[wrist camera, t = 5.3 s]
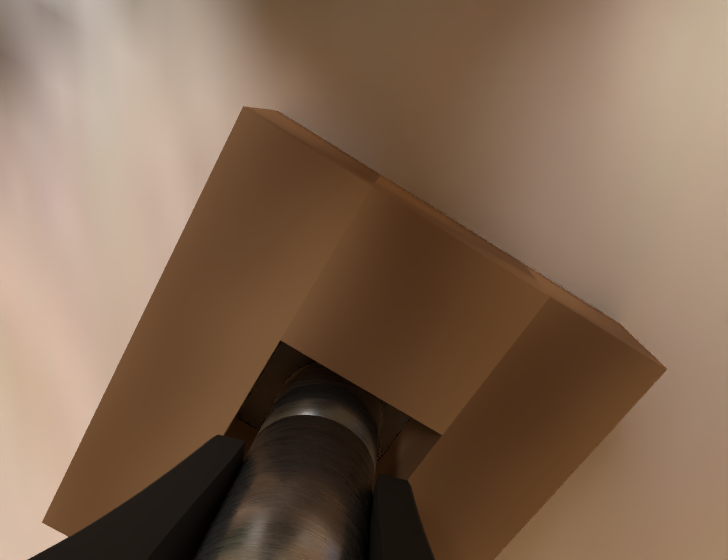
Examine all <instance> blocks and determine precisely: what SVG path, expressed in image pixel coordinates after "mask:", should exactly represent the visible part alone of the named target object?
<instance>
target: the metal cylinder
mask: <svg viewBox="0 0 728 560" xmlns="http://www.w3.org/2000/svg"><path fill="white" fill-rule="evenodd" d="M382 414H383V413H382V403H381V400H380V398H378V397H376V396H374V395H373V394H371V393H369V392H368V391H366V390H364V389H363V388H361V387H359V386H357V385H356V384H354V383H352V382H351V381H349V380H347V379H346V378H344V377H342V376H340V375H339V374H337V373H335V372H334V371H332V370H330V369H328V368H327V367H325V366H323V365H322V364H320V363H313V364H309V365H306V366H304V367H302V368H300V369H298V370H296V371H295V372H294V373H293V374H291V375H290V376H289V377H288V378H287V380H286V381H285V383H284V384H283V386H282V388H281V390H280V392H279V394H278V396H277V397H276V399H275V401H274V403H273V405H272V407H271V409H270V411H269V413H268V415H267V417H266V419H265V420H264V422H263V424H262V426H261V428H260V430H259V432H258V434H257V436H256V438H255V440H254V442H253V443H252V445H251V447H250V449H249V451H248V453H247V455H246V457H245V459H244V461H243V463H242V465H241V467H240V468H239V470H238V472H237V474H236V476H235V478H234V480H233V482H232V484H231V486H230V488H229V490H228V491H227V493H226V495H225V497H224V499H223V501H222V503H221V505H220V507H219V509H218V511H217V513H216V514H215V516H214V518H213V520H212V522H211V524H210V526H209V528H208V530H207V532H206V534H205V536H204V538H203V539H202V541H201V543H200V545H199V547H198V549H197V551H196V553H195V555H194V557H193V559H192V560H365V559H366V550H367V542H368V533H369V524H370V516H371V507H372V499H373V491H374V483H375V474H376V466H377V457H378V449H379V440H380V432H381V423H382Z"/></svg>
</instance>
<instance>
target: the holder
mask: <svg viewBox="0 0 728 560" xmlns="http://www.w3.org/2000/svg"><path fill="white" fill-rule="evenodd" d="M281 341H282V342H284V343H286V344H288V345H289V346H291V347H293V348H294V349H296V350H298V351H300V352H301V353H303V354H305V355H306V356H308V357H310V358H311V359H313V360H315V361H317V362H318V363H320V364H322V365H323V366H325V367H327V368H328V369H330V370H332V371H334V372H335V373H337V374H339V375H340V376H342V377H344V378H346V379H347V380H349V381H351V382H352V383H354V384H356V385H357V386H359V387H361V388H363V389H364V390H366V391H368V392H369V393H371V394H373V395H374V396H376V397H378V398H380V399H381V400H383V401H385V402H386V403H388V404H390V405H392V406H393V407H395V408H397V409H398V410H400V411H402V412H403V413H405V414H407V415H409V416H410V417H411V418H410V420H409V421H408V422H407V424H406V425H405V426H404V428H403V429H402V430H401V432H400V433H399V435H398V436H397V437H396V439H395V440H394V441H393V443H392V444H391V445H390V447H389V448H388V449H387V451H386V452H385V453H384V455H383V456H382V457H381V459H380V460H379V461H378V463H377V466H376V474H375V483H374V489H375V485H376V481H377V478H378V474H383V475H388V476H392V477H396V478H400V479H404V480H408V482H409V483H410V485H411V487H412V491H413V495H414V499H415V502H416V506H417V509H418V512H419V516H420V519H421V522H422V525H423V528H424V531H425V534H426V536H427V539H428V542H429V545H430V547H431V550H432V552H433V555H434V557H435V560H493V559H494V558H495V557H496V556H497V555H498V554H499V553H500V552H501V551H502V550H503V548H504V547H505V546H506V545H507V544H508V543H509V542H510V541H511V540H512V539H513V537H514V536H515V535H516V534H517V533H518V532H519V531H520V530H521V529H522V528H523V527H524V525H525V524H526V523H527V522H528V521H529V520H530V519H531V518H532V517H533V516H534V514H535V513H536V512H537V511H538V510H539V509H540V508H541V507H542V506H543V505H544V504H545V502H546V501H547V500H548V499H549V498H550V497H551V496H552V495H553V494H554V493H555V491H556V490H557V489H558V488H559V487H560V486H561V485H562V484H563V483H564V482H565V481H566V479H567V478H568V477H569V476H570V475H571V474H572V473H573V472H574V471H575V470H576V468H577V467H578V466H579V465H580V464H581V463H582V462H583V461H584V460H585V459H586V458H587V456H588V455H589V454H590V453H591V452H592V451H593V450H594V449H595V448H596V447H597V445H598V444H599V443H600V442H601V441H602V440H603V439H604V438H605V437H606V436H607V435H608V433H609V432H610V431H611V430H612V429H613V428H614V427H615V426H616V425H617V424H618V422H619V421H620V420H621V419H622V418H623V417H624V416H625V415H626V414H627V413H628V412H629V410H630V409H631V408H632V407H633V406H634V405H635V404H636V403H637V402H638V401H639V399H640V398H641V397H642V396H643V395H644V394H645V393H646V392H647V391H648V390H649V389H650V387H651V386H652V385H653V384H654V383H655V382H656V381H657V380H658V379H659V378H660V376H661V375H662V374H663V373H664V372H665V371H666V370H667V369H666V368H665V367H664V366H663V365H662V364H661V363H660V362H659V361H658V360H657V359H656V358H655V357H654V356H653V355H652V354H651V353H650V352H649V351H648V350H647V349H646V348H645V347H643V346H642V345H641V344H640V343H639V342H638V341H637V340H636V339H635V338H634V337H633V336H632V335H631V334H630V333H629V332H628V331H627V330H626V329H625V328H624V327H623V326H622V325H620V324H619V323H618V322H616V321H614V320H613V319H611V318H609V317H608V316H606V315H605V314H603V313H601V312H600V311H598V310H597V309H595V308H593V307H592V306H590V305H589V304H587V303H585V302H584V301H582V300H581V299H579V298H577V297H576V296H574V295H573V294H571V293H569V292H568V291H566V290H564V289H563V288H561V287H560V286H558V285H556V284H555V283H553V282H552V281H550V280H548V279H547V278H545V277H544V276H542V275H540V274H539V273H537V272H536V271H534V270H532V269H531V268H529V267H528V266H526V265H524V264H523V263H521V262H519V261H518V260H516V259H515V258H513V257H511V256H510V255H508V254H507V253H505V252H503V251H502V250H500V249H499V248H497V247H495V246H494V245H492V244H491V243H489V242H487V241H486V240H484V239H483V238H481V237H479V236H478V235H476V234H474V233H473V232H471V231H470V230H468V229H466V228H465V227H463V226H462V225H460V224H458V223H457V222H455V221H454V220H452V219H450V218H449V217H447V216H446V215H444V214H442V213H441V212H439V211H438V210H436V209H434V208H433V207H431V206H429V205H428V204H426V203H425V202H423V201H421V200H420V199H418V198H417V197H415V196H413V195H412V194H410V193H409V192H407V191H405V190H404V189H402V188H401V187H399V186H397V185H396V184H394V183H393V182H391V181H389V180H388V179H386V178H384V177H383V176H381V175H380V174H378V173H376V172H375V171H373V170H372V169H370V168H368V167H367V166H365V165H364V164H362V163H360V162H359V161H357V160H356V159H354V158H352V157H351V156H349V155H348V154H346V153H344V152H343V151H341V150H339V149H338V148H336V147H335V146H333V145H331V144H330V143H328V142H327V141H325V140H323V139H322V138H320V137H319V136H317V135H315V134H314V133H312V132H311V131H309V130H307V129H306V128H304V127H303V126H301V125H299V124H298V123H296V122H294V121H293V120H291V119H290V118H288V117H286V116H285V115H283V114H282V113H280V112H278V111H274V110H267V109H259V108H251V107H243V108H242V110H241V112H240V114H239V116H238V119H237V121H236V123H235V125H234V127H233V129H232V131H231V133H230V135H229V137H228V139H227V141H226V143H225V145H224V147H223V150H222V152H221V154H220V156H219V158H218V160H217V162H216V164H215V166H214V168H213V170H212V172H211V174H210V176H209V178H208V181H207V183H206V185H205V187H204V189H203V191H202V193H201V195H200V197H199V199H198V201H197V203H196V205H195V207H194V209H193V211H192V214H191V216H190V218H189V220H188V222H187V224H186V226H185V228H184V230H183V232H182V234H181V236H180V238H179V240H178V242H177V245H176V247H175V249H174V251H173V253H172V255H171V257H170V259H169V261H168V263H167V265H166V267H165V269H164V271H163V273H162V276H161V278H160V280H159V282H158V284H157V286H156V288H155V290H154V292H153V294H152V296H151V298H150V300H149V302H148V304H147V307H146V309H145V311H144V313H143V315H142V317H141V319H140V321H139V323H138V325H137V327H136V329H135V331H134V333H133V335H132V338H131V340H130V342H129V344H128V346H127V348H126V350H125V352H124V354H123V356H122V358H121V360H120V362H119V364H118V366H117V368H116V371H115V373H114V375H113V377H112V379H111V381H110V383H109V385H108V387H107V389H106V391H105V393H104V395H103V397H102V399H101V402H100V404H99V406H98V408H97V410H96V412H95V414H94V416H93V418H92V420H91V422H90V424H89V426H88V428H87V430H86V433H85V435H84V437H83V439H82V441H81V443H80V445H79V447H78V449H77V451H76V453H75V455H74V457H73V459H72V461H71V464H70V466H69V468H68V470H67V472H66V474H65V476H64V478H63V480H62V482H61V484H60V486H59V488H58V490H57V492H56V495H55V497H54V499H53V501H52V503H51V505H50V507H49V509H48V511H47V513H46V515H45V517H44V519H43V521H42V523H44V524H46V525H48V526H50V527H52V528H53V529H55V530H57V531H59V532H61V533H63V534H65V535H66V536H68V537H70V536H71V535H73V534H75V533H76V532H78V531H80V530H81V529H83V528H85V527H86V526H88V525H90V524H91V523H93V522H95V521H96V520H98V519H99V518H101V517H102V516H104V515H105V514H107V513H108V512H110V511H112V510H113V509H115V508H116V507H118V506H119V505H121V504H122V503H124V502H126V501H127V500H129V499H130V498H132V497H133V496H135V495H136V494H137V493H139V492H140V491H142V490H143V489H144V488H146V487H147V486H149V485H150V484H151V483H153V482H154V481H156V480H157V479H158V478H160V477H161V476H163V475H164V474H165V473H167V472H168V471H170V470H171V469H172V468H173V467H175V466H176V465H177V464H179V463H180V462H181V461H183V460H184V459H185V458H187V457H188V456H189V455H191V454H192V453H193V452H194V451H196V450H197V449H198V448H199V447H201V446H202V445H203V444H204V443H206V442H207V441H208V440H210V439H211V438H212V437H214V436H216V435H217V434H218V435H222V436H227V437H231V438H235V439H239V440H243V441H246V443H245V450H244V456H243V461H244V459H245V457H246V455H247V453H248V451H249V449H250V447H251V445H252V443H253V442H254V440H255V438H256V436H257V434H258V432H259V430H257V429H255V428H254V427H252V426H250V425H248V424H247V423H245V422H243V421H241V420H240V419H238V418H236V416H237V414H238V412H239V411H240V409H241V407H242V406H243V404H244V402H245V401H246V399H247V397H248V396H249V394H250V392H251V391H252V389H253V387H254V386H255V384H256V382H257V381H258V379H259V377H260V376H261V374H262V372H263V371H264V369H265V367H266V366H267V364H268V362H269V361H270V359H271V357H272V356H273V354H274V352H275V351H276V349H277V347H278V346H279V344H280V342H281ZM242 463H243V462H242ZM373 493H374V491H373Z"/></svg>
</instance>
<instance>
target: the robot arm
mask: <svg viewBox="0 0 728 560" xmlns="http://www.w3.org/2000/svg"><path fill="white" fill-rule="evenodd" d="M245 443H246V441H243V440H239V439H235V438H231V437H227V436H222V435H218V434H217V435H216V436H214V437H212V438H211V439H210V440H208V441H207V442H206V443H204V444H203V445H202V446H201V447H199V448H198V449H197V450H196V451H194V452H193V453H192V454H191V455H189V456H188V457H187V458H185V459H184V460H183V461H181V462H180V463H179V464H177V465H176V466H175V467H173V468H172V469H171V470H170V471H168V472H167V473H165V474H164V475H163V476H161V477H160V478H158V479H157V480H156V481H154V482H153V483H151V484H150V485H149V486H147V487H146V488H144V489H143V490H142V491H140V492H139V493H137V494H136V495H135V496H133V497H132V498H130V499H129V500H127V501H126V502H124V503H122V504H121V505H119V506H118V507H116V508H115V509H113V510H112V511H110V512H108V513H107V514H105V515H104V516H102V517H101V518H99V519H98V520H96V521H95V522H93V523H91V524H90V525H88V526H86V527H85V528H83V529H81V530H80V531H78V532H76V533H75V534H73V535H71V536H70V537H68V538H66V539H64V540H63V541H61V542H59V543H57V544H55V545H54V546H52V547H50V548H48V549H46V550H45V551H43V552H41V553H39V554H37V555H35V556H34V557H32V558H30V559H28V560H192V559H193V557H194V555H195V553H196V551H197V549H198V547H199V545H200V543H201V541H202V539H203V538H204V536H205V534H206V532H207V530H208V528H209V526H210V524H211V522H212V520H213V518H214V516H215V514H216V513H217V511H218V509H219V507H220V505H221V503H222V501H223V499H224V497H225V495H226V493H227V491H228V490H229V488H230V486H231V484H232V482H233V480H234V478H235V476H236V474H237V472H238V470H239V468H240V467H241V465H242V462H243V456H244V450H245ZM365 560H435V557H434V555H433V552H432V550H431V547H430V545H429V542H428V539H427V536H426V534H425V531H424V528H423V525H422V522H421V519H420V516H419V512H418V509H417V506H416V502H415V499H414V495H413V491H412V487H411V485H410V483H409V482H408V480H404V479H400V478H396V477H392V476H388V475H383V474H378V478H377V481H376V485H375V489H374V493H373V499H372V507H371V516H370V524H369V533H368V542H367V550H366V559H365Z"/></svg>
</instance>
